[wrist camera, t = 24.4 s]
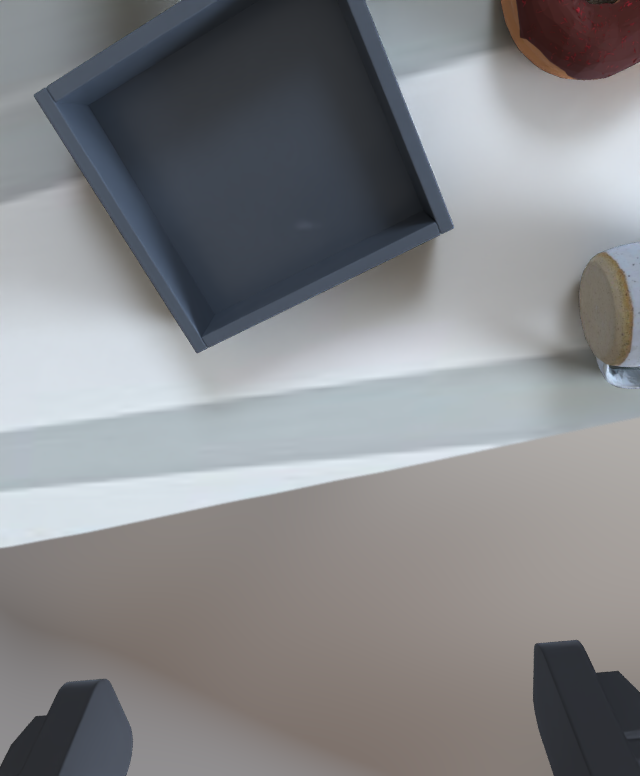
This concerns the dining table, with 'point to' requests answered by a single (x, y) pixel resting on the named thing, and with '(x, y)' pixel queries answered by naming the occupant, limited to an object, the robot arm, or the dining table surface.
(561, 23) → the donut
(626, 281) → the ceramic mug
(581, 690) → the robot arm
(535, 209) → the dining table surface
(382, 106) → the dark grey open tray
